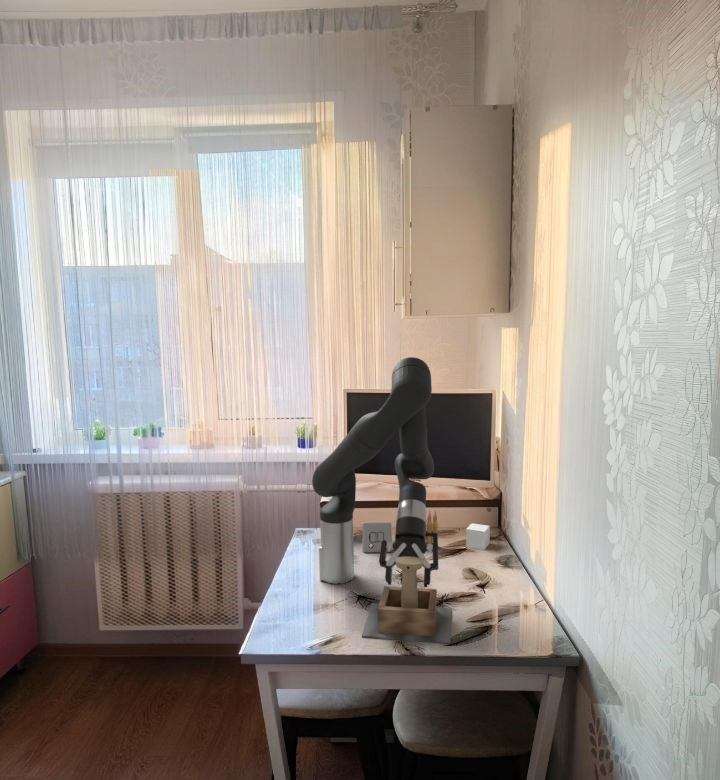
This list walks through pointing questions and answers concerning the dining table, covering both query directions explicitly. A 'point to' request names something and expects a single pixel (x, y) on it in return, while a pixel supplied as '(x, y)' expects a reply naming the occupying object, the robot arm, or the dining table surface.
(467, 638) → the dining table surface
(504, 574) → the dining table surface
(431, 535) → the ammunition clip
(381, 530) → the electrical switch
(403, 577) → the handle
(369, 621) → the socket holder
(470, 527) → the white cube
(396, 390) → the robot arm
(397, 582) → the dining table surface
